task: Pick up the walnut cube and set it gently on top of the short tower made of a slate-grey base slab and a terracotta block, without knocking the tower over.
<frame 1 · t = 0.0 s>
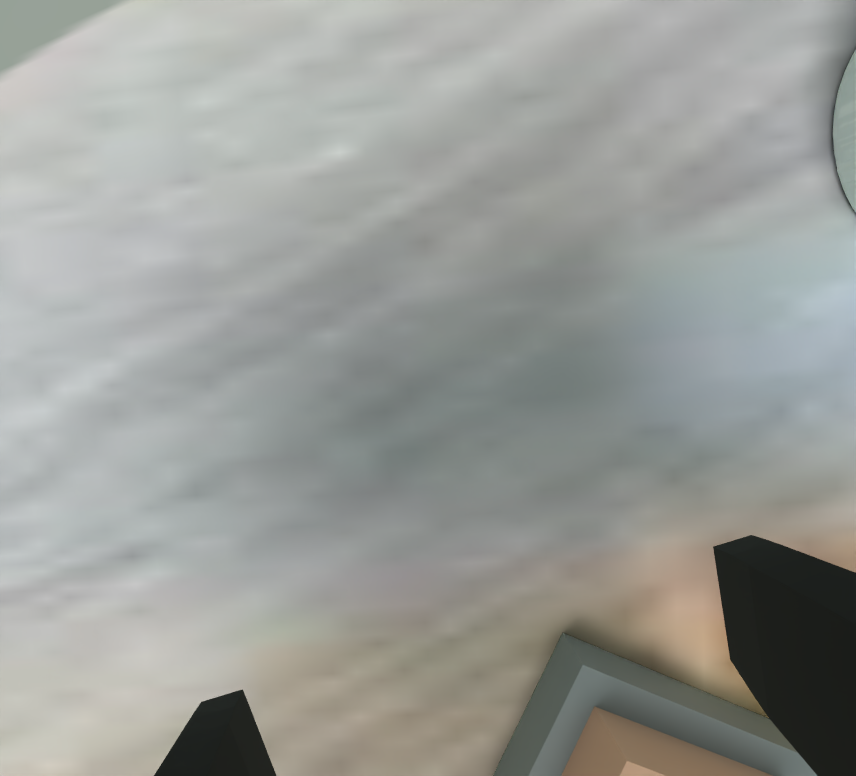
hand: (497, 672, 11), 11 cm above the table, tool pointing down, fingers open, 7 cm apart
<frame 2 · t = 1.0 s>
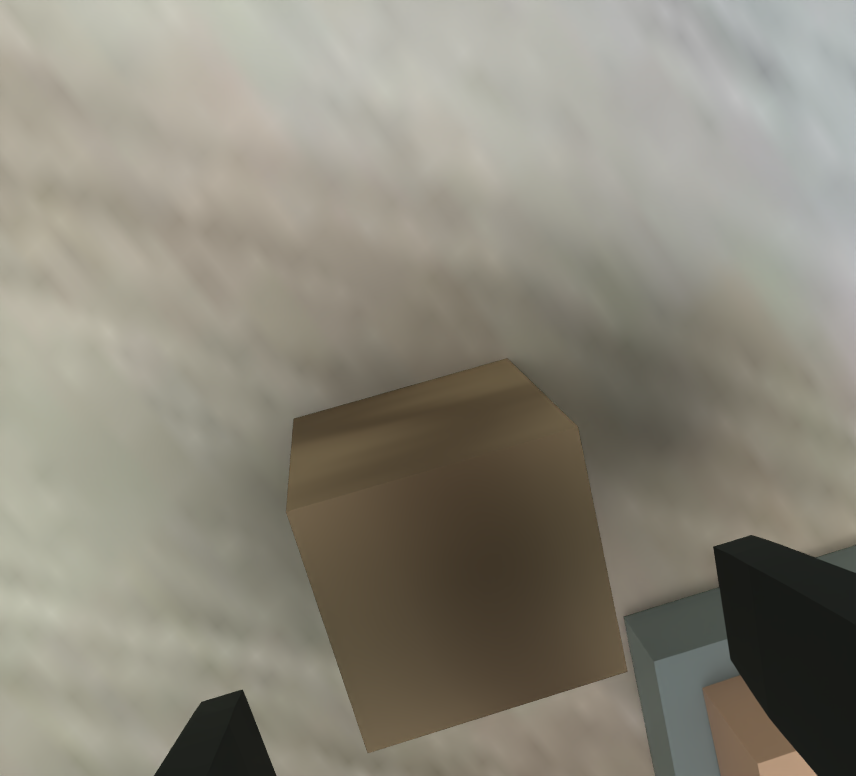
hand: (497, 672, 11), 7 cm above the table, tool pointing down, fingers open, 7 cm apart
walnut cube: (427, 485, 18), on the table
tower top: (834, 746, 19), point 2 cm above the table, touching tower base
tower base: (772, 682, 22), on the table, touching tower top
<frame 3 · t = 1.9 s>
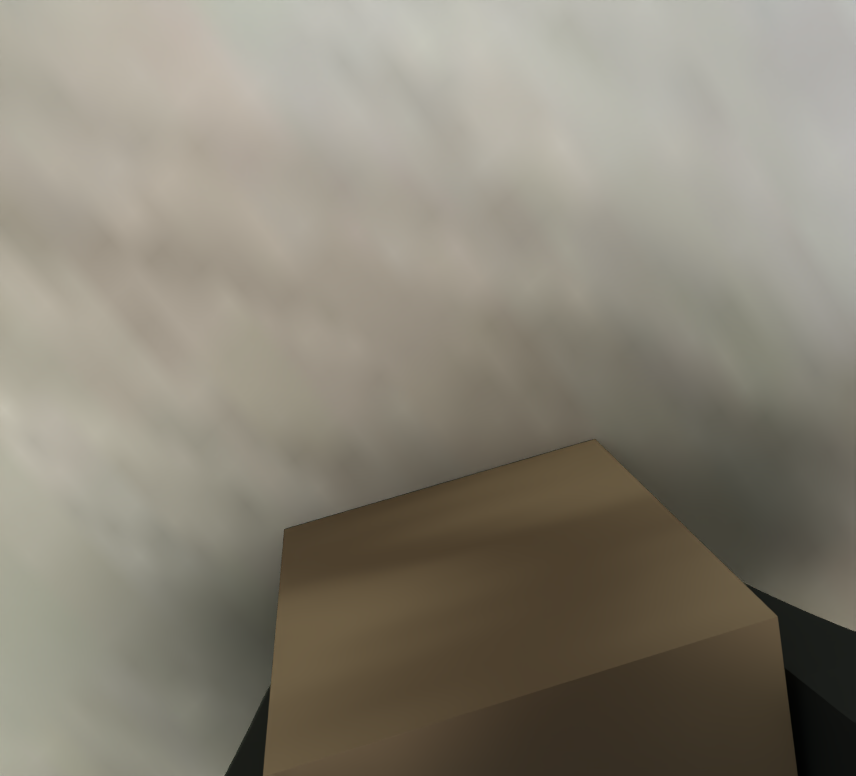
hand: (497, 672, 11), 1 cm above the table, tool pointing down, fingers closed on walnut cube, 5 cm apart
walnut cube: (477, 618, 13), on the table, touching gripper
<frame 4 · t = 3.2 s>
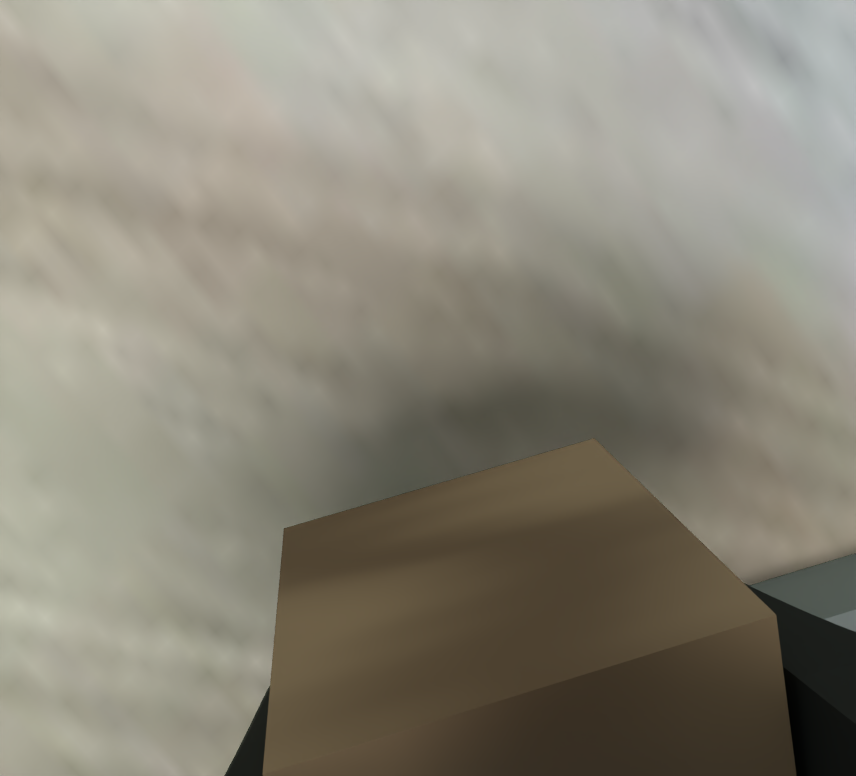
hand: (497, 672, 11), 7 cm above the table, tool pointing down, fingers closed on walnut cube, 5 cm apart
walnut cube: (477, 617, 13), point 5 cm above the table, touching gripper
tower base: (783, 687, 21), on the table, touching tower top
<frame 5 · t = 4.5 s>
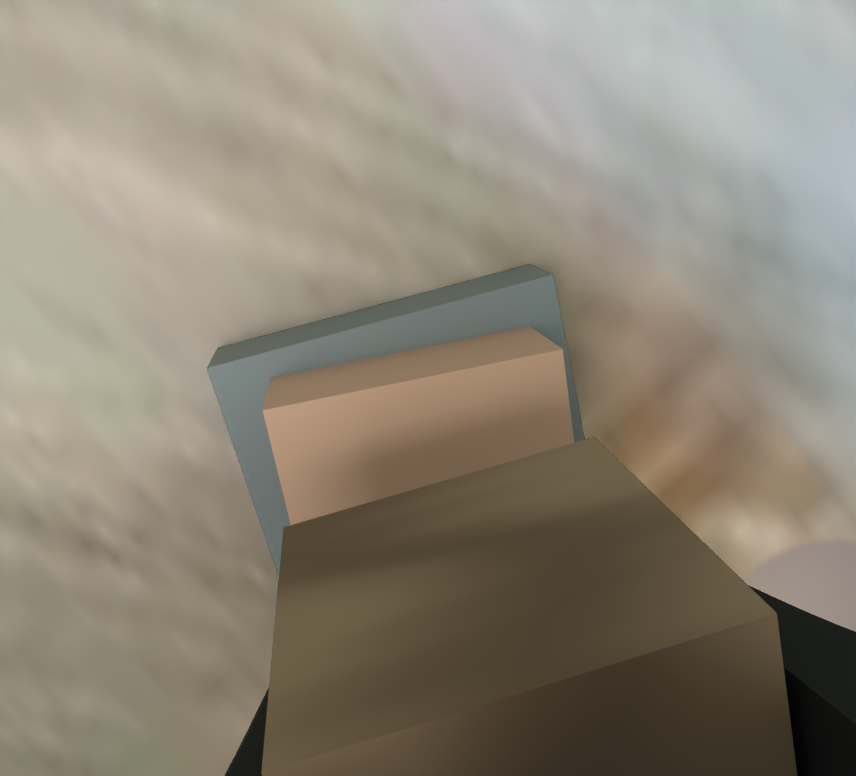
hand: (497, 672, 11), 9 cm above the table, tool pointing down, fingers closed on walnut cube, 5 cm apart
walnut cube: (476, 616, 13), point 8 cm above the table, touching gripper
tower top: (424, 472, 18), point 2 cm above the table, touching tower base
tower base: (412, 444, 21), on the table, touching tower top
when the fingers open (7 cm above the table, at t = 5.5 s): walnut cube drops 2 cm, resting on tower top.
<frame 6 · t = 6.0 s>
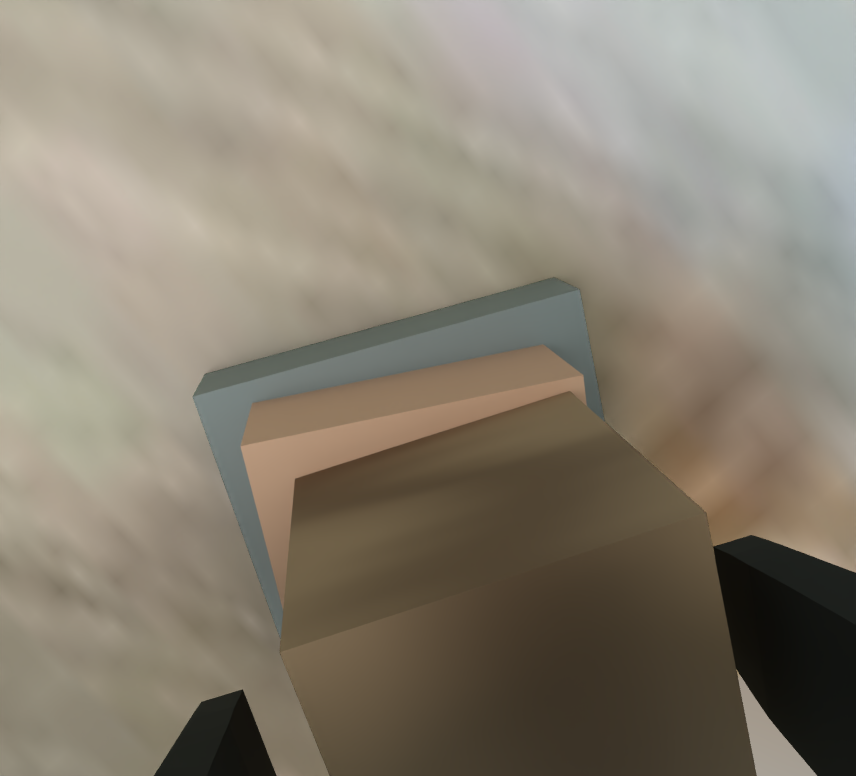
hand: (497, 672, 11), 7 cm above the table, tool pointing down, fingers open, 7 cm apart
walnut cube: (470, 556, 14), point 4 cm above the table, touching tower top
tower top: (425, 506, 16), point 2 cm above the table, touching tower base, walnut cube
tower base: (421, 473, 19), on the table, touching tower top
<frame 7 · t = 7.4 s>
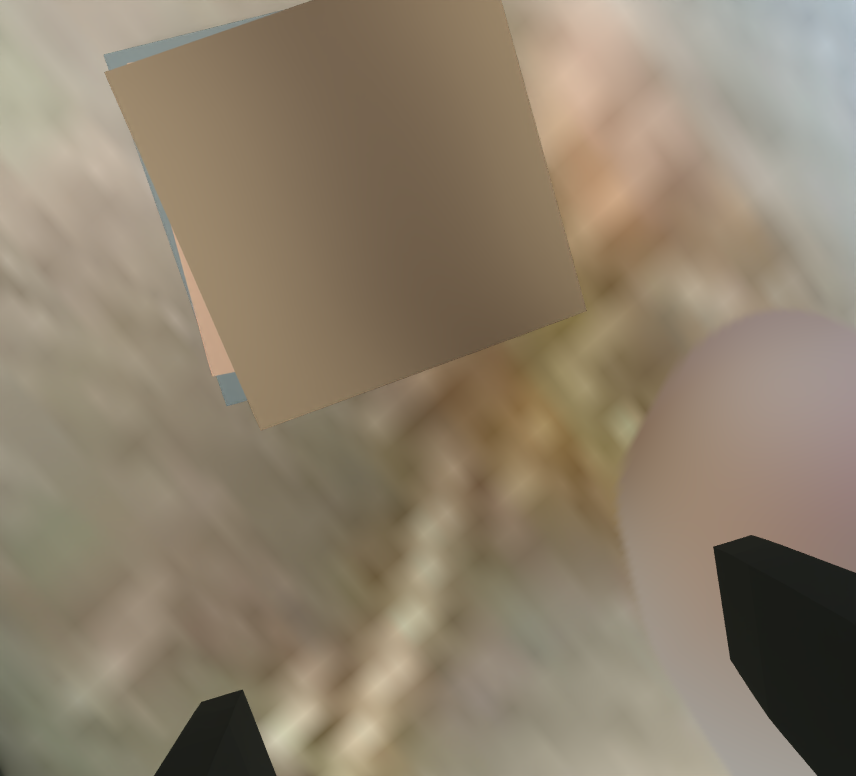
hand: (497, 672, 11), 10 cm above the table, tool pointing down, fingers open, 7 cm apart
walnut cube: (349, 190, 15), point 4 cm above the table, touching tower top
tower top: (324, 195, 17), point 2 cm above the table, touching tower base, walnut cube
tower base: (338, 193, 20), on the table, touching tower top
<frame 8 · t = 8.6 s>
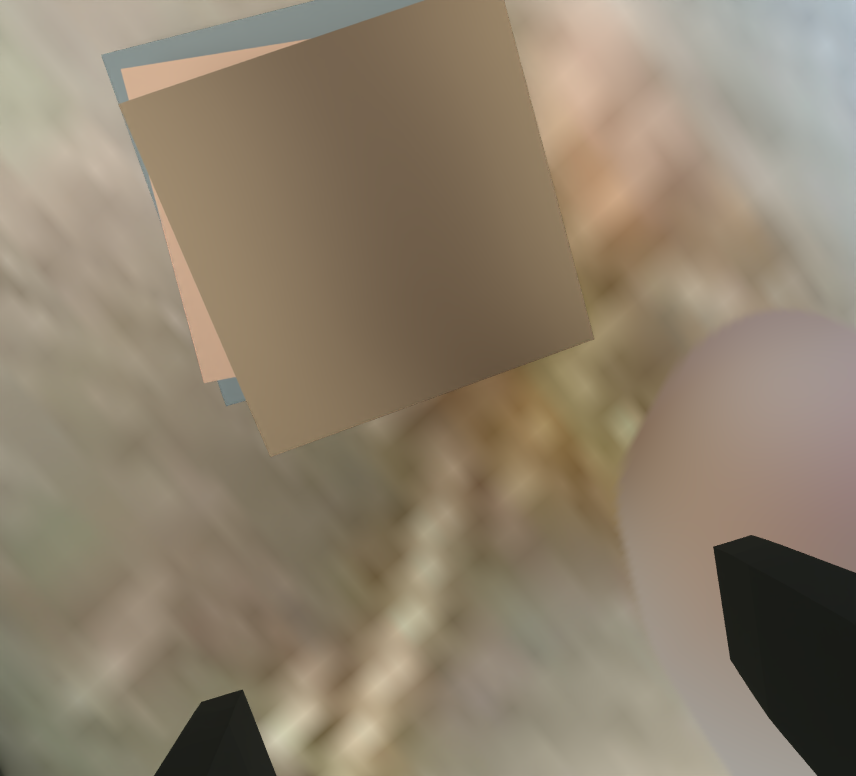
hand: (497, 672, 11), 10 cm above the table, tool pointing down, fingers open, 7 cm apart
walnut cube: (355, 210, 15), point 4 cm above the table, touching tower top
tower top: (318, 202, 17), point 2 cm above the table, touching tower base, walnut cube
tower base: (337, 192, 20), on the table, touching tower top
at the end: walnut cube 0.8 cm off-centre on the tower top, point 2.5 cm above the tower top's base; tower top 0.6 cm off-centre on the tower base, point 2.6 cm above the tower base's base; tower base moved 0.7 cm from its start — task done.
